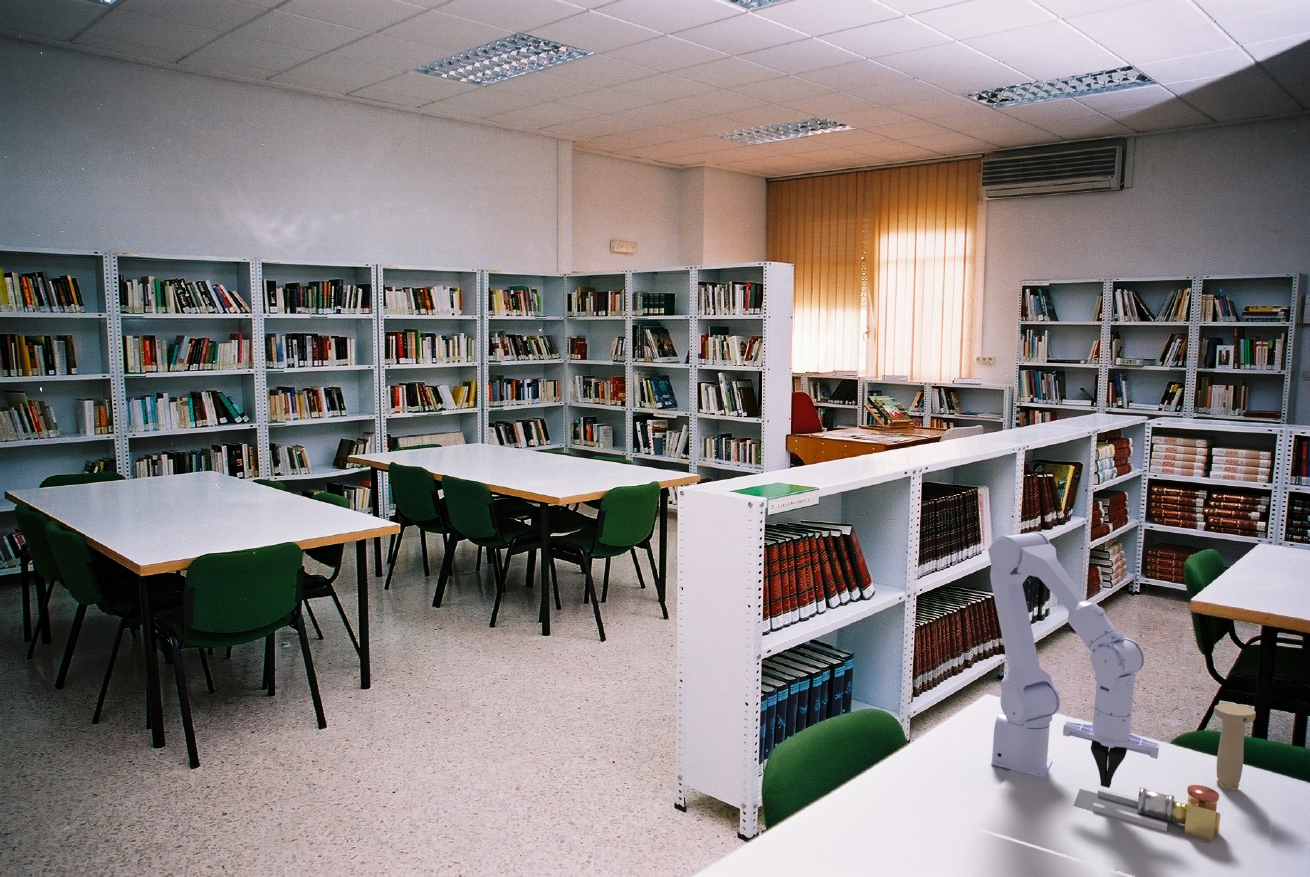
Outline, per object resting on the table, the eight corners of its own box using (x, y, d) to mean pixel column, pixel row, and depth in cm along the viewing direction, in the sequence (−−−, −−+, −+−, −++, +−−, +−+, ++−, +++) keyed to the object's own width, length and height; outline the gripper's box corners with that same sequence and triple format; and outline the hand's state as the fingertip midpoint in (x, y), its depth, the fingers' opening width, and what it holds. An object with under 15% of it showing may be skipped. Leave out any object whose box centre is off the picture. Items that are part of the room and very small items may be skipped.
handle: (1253, 794, 159) (1262, 714, 157) (1221, 796, 158) (1228, 715, 157) (1233, 781, 164) (1240, 703, 162) (1201, 782, 163) (1208, 704, 161)
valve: (1170, 829, 146) (1173, 790, 146) (1172, 816, 151) (1176, 778, 150) (1217, 843, 143) (1221, 803, 142) (1218, 828, 147) (1222, 789, 146)
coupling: (1136, 814, 150) (1139, 788, 150) (1138, 811, 153) (1141, 785, 154) (1170, 824, 147) (1173, 797, 147) (1172, 820, 150) (1174, 794, 151)
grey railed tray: (1073, 807, 154) (1073, 799, 154) (1079, 790, 160) (1080, 783, 159) (1209, 845, 143) (1209, 837, 143) (1210, 826, 149) (1211, 818, 148)
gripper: (1062, 706, 153) (1056, 781, 155) (1159, 729, 145) (1151, 807, 147) (1069, 693, 159) (1063, 765, 160) (1162, 714, 151) (1155, 789, 152)
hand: (1105, 784), depth 154 cm, fingers closed
